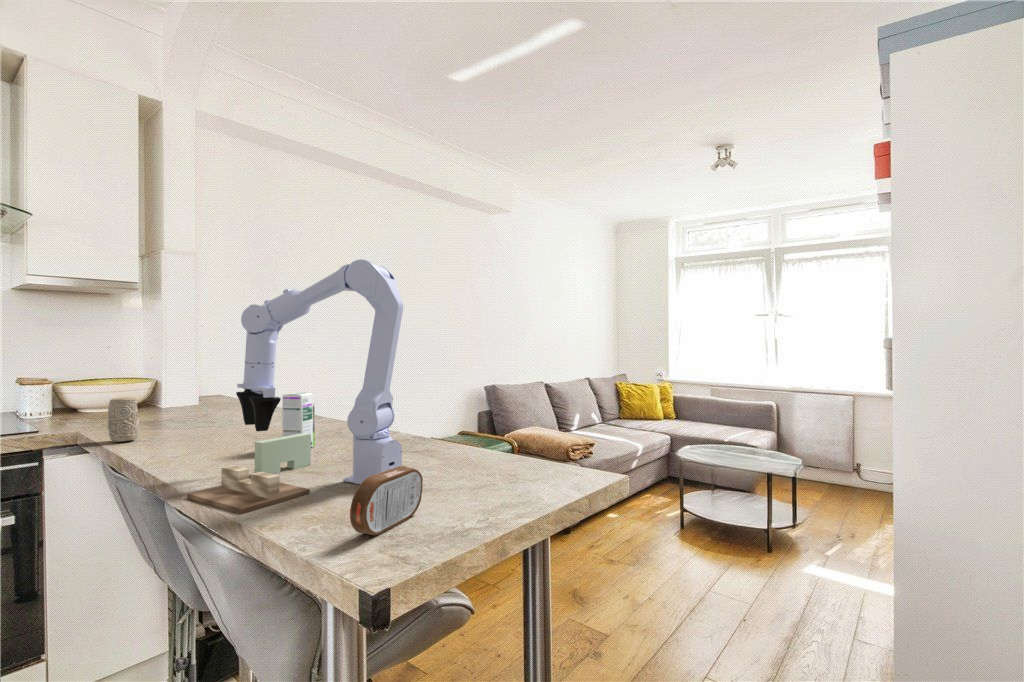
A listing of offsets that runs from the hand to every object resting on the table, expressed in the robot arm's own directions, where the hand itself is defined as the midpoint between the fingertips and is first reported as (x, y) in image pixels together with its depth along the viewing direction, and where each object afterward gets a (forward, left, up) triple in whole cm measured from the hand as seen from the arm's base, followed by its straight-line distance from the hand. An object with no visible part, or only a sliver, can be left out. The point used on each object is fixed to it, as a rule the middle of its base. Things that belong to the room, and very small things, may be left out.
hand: (256, 427), depth 106 cm
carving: (+62, -2, -10) cm, 63 cm away
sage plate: (-2, -5, -10) cm, 11 cm away
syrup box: (+14, -21, -10) cm, 27 cm away
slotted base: (-13, +10, -10) cm, 19 cm away
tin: (-45, +8, -10) cm, 47 cm away
